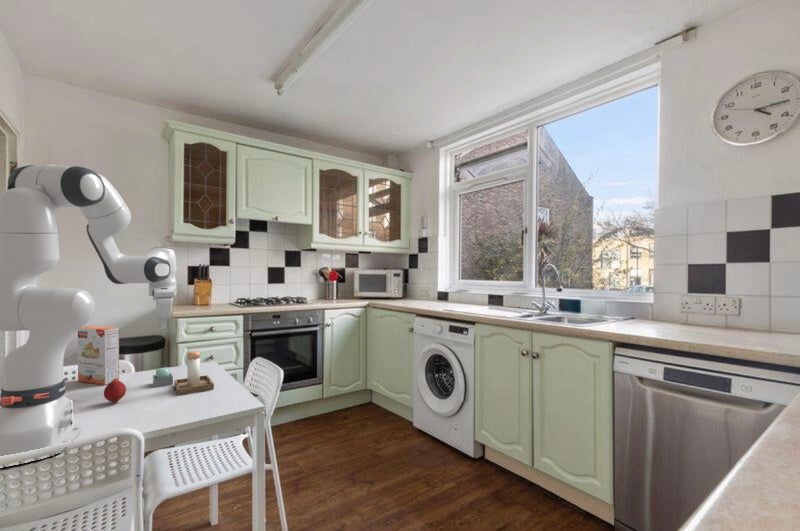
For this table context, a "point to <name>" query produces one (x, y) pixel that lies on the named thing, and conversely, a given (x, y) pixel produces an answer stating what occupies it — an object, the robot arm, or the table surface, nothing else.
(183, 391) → the tray
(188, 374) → the white bottle
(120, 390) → the onion
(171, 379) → the button housing
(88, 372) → the cracker box
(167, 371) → the button
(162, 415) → the table surface
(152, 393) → the table surface
